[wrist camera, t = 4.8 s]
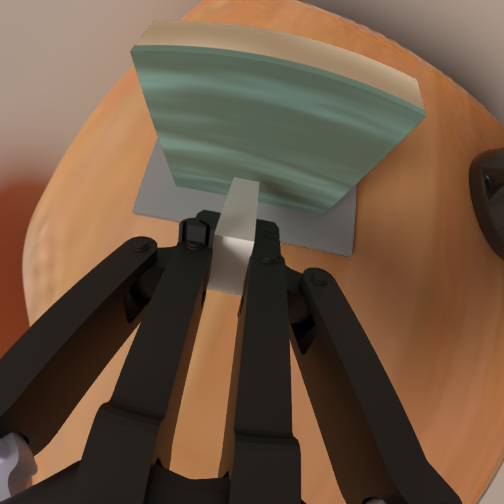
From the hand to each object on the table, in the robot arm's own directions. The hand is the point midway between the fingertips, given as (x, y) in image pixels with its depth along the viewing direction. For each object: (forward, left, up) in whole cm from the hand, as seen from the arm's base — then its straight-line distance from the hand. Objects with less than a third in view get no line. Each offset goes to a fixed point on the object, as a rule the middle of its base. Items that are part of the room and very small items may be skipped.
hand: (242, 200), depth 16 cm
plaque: (-3, -2, -5) cm, 6 cm away
